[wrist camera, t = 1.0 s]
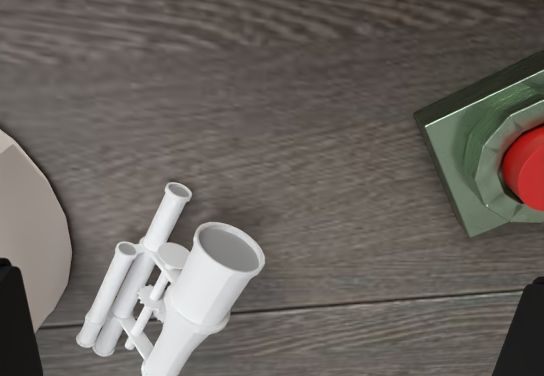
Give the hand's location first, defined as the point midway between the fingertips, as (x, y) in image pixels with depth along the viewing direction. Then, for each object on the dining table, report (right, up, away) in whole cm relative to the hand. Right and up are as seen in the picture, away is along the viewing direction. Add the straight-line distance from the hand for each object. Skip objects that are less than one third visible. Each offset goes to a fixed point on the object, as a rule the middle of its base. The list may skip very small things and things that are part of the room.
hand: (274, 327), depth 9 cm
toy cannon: (-7, -3, +23) cm, 25 cm away
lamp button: (+14, +4, +16) cm, 21 cm away
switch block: (+14, +6, +19) cm, 24 cm away
